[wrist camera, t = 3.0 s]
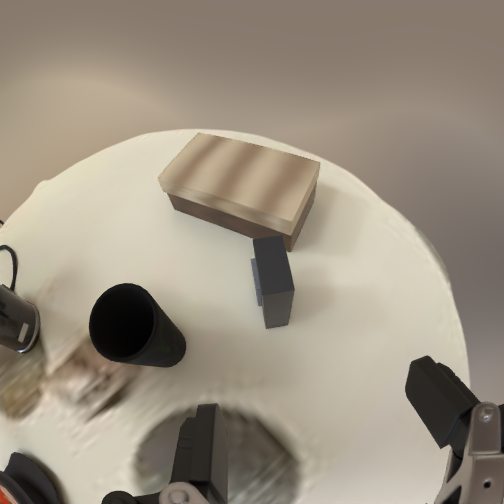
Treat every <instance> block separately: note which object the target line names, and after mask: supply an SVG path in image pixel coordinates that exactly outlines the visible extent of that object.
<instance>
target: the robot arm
mask: <svg viewBox="0 0 504 504" xmlns="http://www.w3.org/2000/svg"><path fill="white" fill-rule="evenodd" d="M0 223H1V224H2V225H4V222H3V221H2V220H0ZM1 249H6V250H8V251H9V252H10V253H11V256H12V261H13V280H12V284H11V287H10V289H9V288H8V287H6V286H5V285H3V284H2V285H0V344H1V345H3V346H6V347H8V348H11V349H13V350H15V351H17V352H20V353H26V352H28V351H30V350H31V349H32V347H33V346H34V344H35V343H36V340H37V338H38V334H39V328H40V319H39V314H38V311H37V309H36V307H35V306H34V305H33V304H31V303H29V302H27V301H25V300H23V299H21V298H20V297H18V296H17V295H15V293H14V292H13V289H14V286H15V280H16V258H15V254H14V252H13V250H12V249H11V248H10V247H8V246H6V245H1V246H0V250H1ZM405 392H406V396H407V398H408V400H409V401H410V403H411V404H412V406H413V407H414V409H415V410H416V412H417V413H418V415H419V416H420V418H421V419H422V421H423V422H424V424H425V425H426V427H427V429H428V430H429V432H430V433H431V435H432V436H433V438H434V439H435V441H436V443H437V444H438V446H439V447H440V449H441V448H443V447H445V446H447V445H450V446H451V449H450V452H449V457H448V462H447V467H446V471H445V476H444V480H443V484H442V487H441V489H440V491H439V493H438V495H437V497H436V499H435V501H434V504H502V503H503V497H504V404H502V405H499V406H497V405H495V404H494V403H491V402H480V401H479V400H478V399H477V398H476V397H475V395H474V394H473V393H472V392H471V391H470V390H469V389H468V388H467V386H466V385H465V384H464V383H463V382H461V381H460V379H459V378H458V377H457V376H455V373H454V372H453V371H452V370H451V369H450V368H449V367H447V366H445V365H443V364H441V363H437V364H436V363H435V361H434V360H433V359H432V358H431V357H430V356H424V357H421V358H419V359H416V360H414V361H412V362H411V364H410V368H409V373H408V377H407V382H406V386H405ZM178 438H179V440H178V442H177V448H176V453H175V459H174V464H173V470H172V476H171V480H170V482H169V484H168V485H167V486H165V487H164V488H163V489H162V490H161V491H160V492H158V493H155V494H150V495H143V496H136V497H133V496H132V495H131V494H129V493H127V492H124V491H113V492H110V493H109V494H107V495H106V496H105V497H104V498H103V500H102V503H101V504H227V493H228V431H227V427H226V424H225V421H224V418H223V416H222V413H221V410H220V407H219V405H218V404H217V403H216V404H202V405H198V408H197V415H196V417H193V418H187V419H186V420H185V422H184V423H183V424H182V426H181V427H180V432H179V437H178ZM426 504H427V503H426Z"/></svg>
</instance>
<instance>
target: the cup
mask: <svg viewBox="0 0 504 504" xmlns="http://www.w3.org/2000/svg"><path fill="white" fill-rule="evenodd" d="M89 332H90V337H91V340H92V343H93V345H94V347H95V348H96V350H97V351H98V352H99V353H100V354H101V355H102V356H103V357H105V358H107V359H109V360H110V361H114V362H120V363H128V364H136V365H145V366H155V367H172V366H174V365H176V364H177V363H179V362H180V361H181V360H182V358H183V356H184V354H185V351H186V342H185V338H184V337H183V335H182V333H181V332H180V331H179V330H178V329H177V327H176V326H175V325H174V324H173V323H172V321H171V320H170V319H169V318H168V316H167V315H166V314H165V313H164V311H163V310H162V309H161V308H160V306H159V305H158V304H157V302H156V301H155V300H154V299H153V297H152V296H151V295H150V294H149V293H148V291H147V290H145V289H144V288H142V287H141V286H138V285H135V284H131V283H123V284H118V285H115V286H113V287H111V288H109V289H108V290H107V291H105V292H104V293H103V294H102V295H101V296H100V297H99V299H98V300H97V301H96V303H95V305H94V307H93V309H92V312H91V315H90V320H89Z"/></svg>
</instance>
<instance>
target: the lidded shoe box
mask: <svg viewBox="0 0 504 504" xmlns="http://www.w3.org/2000/svg"><path fill="white" fill-rule="evenodd" d="M319 169H320V162H317V161H314V160H311V159H307V158H304V157H301V156H297V155H294V154H290V153H286V152H283V151H279V150H275V149H271V148H267V147H263V146H259V145H255V144H251V143H247V142H243V141H238V140H234V139H229V138H224V137H219V136H214V135H209V134H204V133H198V134H197V135H196V136H195V137H194V138H193V139H192V140H191V141H190V142H189V143H188V144H187V145H186V146H185V147H184V148H183V149H182V150H181V152H180V153H179V154H178V155H177V156H176V157H175V158H174V159H173V160H172V161H171V163H170V164H169V165H168V166H167V167H166V168H165V169H164V171H163V172H162V173H161V174H160V175H159V176H158V178H157V179H158V181H159V183H160V186H161V188H162V190H163V192H166V193H167V194H168V196H169V198H170V201H171V203H172V205H173V207H174V209H175V210H178V211H181V212H183V213H186V214H189V215H192V216H194V217H197V218H200V219H202V220H205V221H208V222H211V223H213V224H216V225H219V226H221V227H224V228H227V229H230V230H232V231H235V232H238V233H240V234H243V235H246V236H248V237H251V238H254V239H258V238H265V237H271V236H277V235H282V236H283V240H284V244H285V248H286V251H288V252H291V250H292V248H293V246H294V244H295V242H296V240H297V237H298V235H299V233H300V231H301V229H302V227H303V224H304V222H305V220H306V218H307V216H308V213H309V211H310V209H311V207H312V204H313V202H314V197H315V191H316V184H317V179H318V175H319Z"/></svg>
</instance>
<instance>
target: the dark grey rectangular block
mask: <svg viewBox="0 0 504 504" xmlns="http://www.w3.org/2000/svg"><path fill="white" fill-rule="evenodd" d="M253 246H254V253H255V258H254V259H251V263H252V270H253V276H254V282H255V289H256V294H257V300H258V306H262V307H263V313H264V319H265V326H266V329H267V328H273V327H279V326H285V325H288V323H289V318H290V312H291V307H292V301H293V296H294V290H295V289H294V284H293V280H292V275H291V270H290V266H289V262H288V257H287V253H286V248H285V244H284V240H283V236H282V235H277V236H271V237H265V238H258V239H253Z"/></svg>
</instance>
